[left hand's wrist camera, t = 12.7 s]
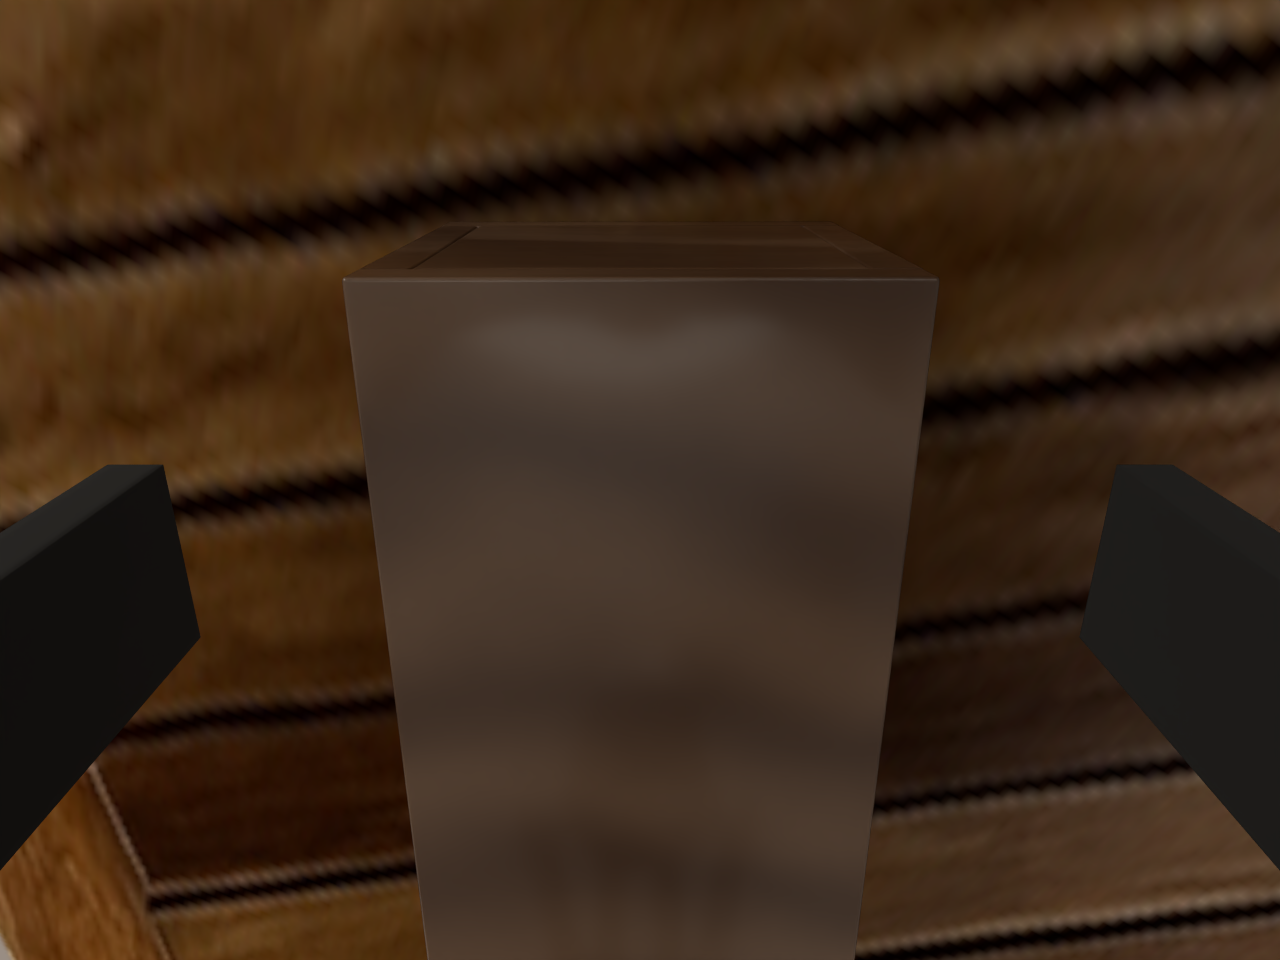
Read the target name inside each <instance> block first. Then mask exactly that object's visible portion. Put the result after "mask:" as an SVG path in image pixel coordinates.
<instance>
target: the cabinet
mask: <svg viewBox="0 0 1280 960" xmlns="http://www.w3.org/2000/svg"><path fill="white" fill-rule="evenodd" d="M342 284H343V292H344V300H345V307H346V315H347V323H348V331H349V339H350V347H351V355H352V363H353V371H354V379H355V387H356V395H357V403H358V411H359V418H360V426H361V434H362V442H363V450H364V458H365V466H366V474H367V482H368V490H369V498H370V506H371V514H372V522H373V529H374V537H375V545H376V553H377V561H378V569H379V577H380V585H381V593H382V601H383V609H384V617H385V625H386V633H387V640H388V648H389V656H390V664H391V672H392V680H393V688H394V696H395V704H396V712H397V720H398V728H399V736H400V744H401V751H402V759H403V767H404V775H405V783H406V791H407V799H408V807H409V815H410V823H411V831H412V839H413V847H414V855H415V863H416V870H417V878H418V886H419V894H420V902H421V910H422V918H423V926H424V934H425V942H426V950H427V958H428V960H854V959H855V951H856V943H857V935H858V927H859V919H860V911H861V903H862V895H863V887H864V879H865V871H866V863H867V855H868V847H869V839H870V831H871V823H872V815H873V807H874V799H875V791H876V783H877V776H878V768H879V760H880V752H881V744H882V736H883V728H884V720H885V712H886V704H887V696H888V688H889V680H890V672H891V664H892V656H893V648H894V640H895V632H896V624H897V616H898V608H899V600H900V592H901V584H902V576H903V568H904V560H905V552H906V544H907V536H908V528H909V520H910V512H911V504H912V496H913V488H914V480H915V472H916V464H917V456H918V448H919V441H920V433H921V425H922V417H923V409H924V401H925V393H926V385H927V377H928V369H929V361H930V353H931V345H932V337H933V329H934V321H935V313H936V305H937V297H938V289H939V277H937V276H935V275H933V274H931V273H929V272H927V271H925V270H923V269H922V268H920V267H918V266H916V265H914V264H913V263H911V262H909V261H907V260H905V259H903V258H901V257H899V256H897V255H895V254H893V253H891V252H889V251H887V250H885V249H883V248H881V247H879V246H877V245H875V244H873V243H871V242H869V241H868V240H866V239H864V238H862V237H860V236H858V235H856V234H854V233H852V232H850V231H848V230H846V229H844V228H842V227H840V226H839V225H837V224H835V223H833V222H449V223H447V224H445V225H443V226H442V227H440V228H438V229H436V230H434V231H433V232H431V233H429V234H427V235H425V236H423V237H421V238H419V239H417V240H415V241H413V242H411V243H409V244H407V245H405V246H403V247H402V248H400V249H398V250H396V251H394V252H392V253H390V254H388V255H386V256H384V257H382V258H380V259H378V260H376V261H374V262H373V263H371V264H369V265H367V266H365V267H363V268H361V269H359V270H357V271H355V272H353V273H352V274H350V275H348V276H346V277H344V278H343V280H342Z"/></svg>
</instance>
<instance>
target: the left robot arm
mask: <svg viewBox="0 0 1280 960" xmlns="http://www.w3.org/2000/svg"><path fill="white" fill-rule="evenodd" d="M199 638H200V633H199V628H198V623H197V619H196V614H195V610H194V605H193V600H192V596H191V591H190V586H189V582H188V577H187V573H186V568H185V563H184V559H183V554H182V550H181V545H180V540H179V536H178V531H177V527H176V522H175V517H174V513H173V508H172V503H171V499H170V494H169V490H168V485H167V480H166V476H165V471H164V467H163V465H106V466H105V467H103V468H102V469H100V470H99V471H97V472H95V473H94V474H92V475H91V476H89V477H88V478H86V479H84V480H83V481H81V482H80V483H78V484H77V485H75V486H73V487H72V488H70V489H69V490H67V491H66V492H64V493H62V494H61V495H59V496H58V497H56V498H55V499H53V500H51V501H50V502H48V503H47V504H45V505H44V506H42V507H40V508H39V509H37V510H36V511H34V512H33V513H31V514H29V515H28V516H26V517H25V518H23V519H22V520H20V521H18V522H17V523H15V524H14V525H12V526H11V527H9V528H7V529H6V530H4V531H3V532H1V533H0V870H1V869H2V868H3V867H4V865H5V864H6V863H7V862H8V861H9V860H10V858H11V857H12V856H13V855H14V854H15V853H16V851H17V850H18V849H19V848H20V847H21V846H22V844H23V843H24V842H25V841H26V840H27V839H28V838H29V836H30V835H31V834H32V833H33V832H34V831H35V829H36V828H37V827H38V826H39V825H40V824H41V822H42V821H43V820H44V819H45V818H46V817H47V815H48V814H49V813H50V812H51V811H52V810H53V808H54V807H55V806H56V805H57V804H58V803H59V801H60V800H61V799H62V798H63V797H64V796H65V794H66V793H67V792H68V791H69V790H70V789H71V787H72V786H73V785H74V784H75V783H76V782H77V780H78V779H79V778H80V777H81V776H82V775H83V773H84V772H85V771H86V770H87V769H88V768H89V766H90V765H91V764H92V763H93V762H94V761H95V760H96V758H97V757H98V756H99V755H100V754H101V753H102V751H103V750H104V749H105V748H106V747H107V746H108V744H109V743H110V742H111V741H112V740H113V739H114V737H115V736H116V735H117V734H118V733H119V732H120V730H121V729H122V728H123V727H124V726H125V725H126V723H127V722H128V721H129V720H130V719H131V718H132V716H133V715H134V714H135V713H136V712H137V711H138V709H139V708H140V707H141V706H142V705H143V704H144V702H145V701H146V700H147V699H148V698H149V697H150V695H151V694H152V693H153V692H154V691H155V690H156V688H157V687H158V686H159V685H160V684H161V683H162V682H163V680H164V679H165V678H166V677H167V676H168V675H169V673H170V672H171V671H172V670H173V669H174V668H175V666H176V665H177V664H178V663H179V662H180V661H181V659H182V658H183V657H184V656H185V655H186V654H187V652H188V651H189V650H190V649H191V648H192V647H193V645H194V644H195V643H196V642H197V641H198V640H199ZM1080 638H1081V640H1082V641H1083V642H1084V643H1085V644H1086V645H1087V647H1088V648H1089V649H1090V650H1091V651H1092V652H1093V654H1094V655H1095V656H1096V657H1097V658H1098V659H1099V661H1100V662H1101V663H1102V664H1103V665H1104V666H1105V668H1106V669H1107V670H1108V671H1109V672H1110V673H1111V675H1112V676H1113V677H1114V678H1115V679H1116V680H1117V682H1118V683H1119V684H1120V685H1121V686H1122V687H1123V688H1124V690H1125V691H1126V692H1127V693H1128V694H1129V695H1130V697H1131V698H1132V699H1133V700H1134V701H1135V702H1136V704H1137V705H1138V706H1139V707H1140V708H1141V709H1142V711H1143V712H1144V713H1145V714H1146V715H1147V716H1148V718H1149V719H1150V720H1151V721H1152V722H1153V723H1154V725H1155V726H1156V727H1157V728H1158V729H1159V730H1160V732H1161V733H1162V734H1163V735H1164V736H1165V737H1166V739H1167V740H1168V741H1169V742H1170V743H1171V744H1172V746H1173V747H1174V748H1175V749H1176V750H1177V751H1178V753H1179V754H1180V755H1181V756H1182V757H1183V758H1184V760H1185V761H1186V762H1187V763H1188V764H1189V765H1190V766H1191V768H1192V769H1193V770H1194V771H1195V772H1196V773H1197V775H1198V776H1199V777H1200V778H1201V779H1202V780H1203V782H1204V783H1205V784H1206V785H1207V786H1208V787H1209V789H1210V790H1211V791H1212V792H1213V793H1214V794H1215V796H1216V797H1217V798H1218V799H1219V800H1220V801H1221V803H1222V804H1223V805H1224V806H1225V807H1226V808H1227V810H1228V811H1229V812H1230V813H1231V814H1232V815H1233V817H1234V818H1235V819H1236V820H1237V821H1238V822H1239V824H1240V825H1241V826H1242V827H1243V828H1244V829H1245V831H1246V832H1247V833H1248V834H1249V835H1250V836H1251V838H1252V839H1253V840H1254V841H1255V842H1256V843H1257V844H1258V846H1259V847H1260V848H1261V849H1262V850H1263V851H1264V853H1265V854H1266V855H1267V856H1268V857H1269V858H1270V860H1271V861H1272V862H1273V863H1274V864H1275V865H1276V867H1277V868H1278V869H1279V870H1280V533H1279V532H1277V531H1276V530H1274V529H1273V528H1271V527H1269V526H1268V525H1266V524H1265V523H1263V522H1262V521H1260V520H1258V519H1257V518H1255V517H1254V516H1252V515H1251V514H1249V513H1247V512H1246V511H1244V510H1243V509H1241V508H1240V507H1238V506H1236V505H1235V504H1233V503H1232V502H1230V501H1229V500H1227V499H1225V498H1224V497H1222V496H1221V495H1219V494H1218V493H1216V492H1214V491H1213V490H1211V489H1210V488H1208V487H1207V486H1205V485H1203V484H1202V483H1200V482H1199V481H1197V480H1196V479H1194V478H1192V477H1191V476H1189V475H1188V474H1186V473H1185V472H1183V471H1181V470H1180V469H1178V468H1177V467H1175V466H1174V465H1117V467H1116V471H1115V476H1114V480H1113V485H1112V490H1111V494H1110V499H1109V503H1108V508H1107V513H1106V517H1105V522H1104V527H1103V531H1102V536H1101V540H1100V545H1099V550H1098V554H1097V559H1096V563H1095V568H1094V573H1093V577H1092V582H1091V586H1090V591H1089V596H1088V600H1087V605H1086V610H1085V614H1084V619H1083V623H1082V628H1081V633H1080Z"/></svg>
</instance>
